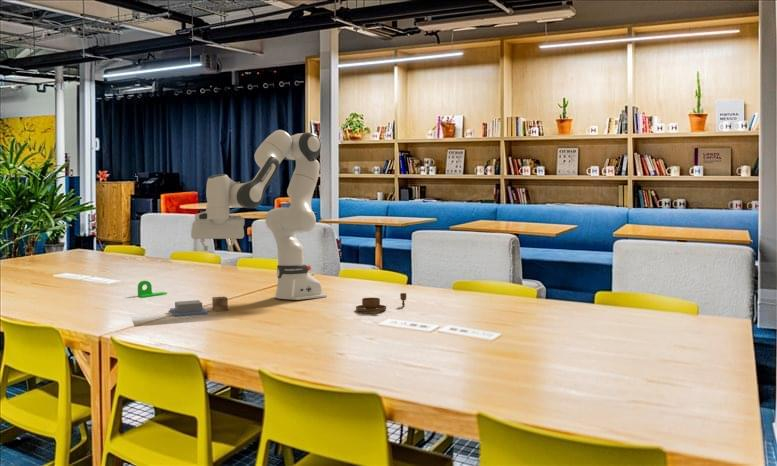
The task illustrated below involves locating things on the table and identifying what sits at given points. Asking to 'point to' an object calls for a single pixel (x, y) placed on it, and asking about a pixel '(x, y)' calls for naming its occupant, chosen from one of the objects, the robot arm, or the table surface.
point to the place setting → (375, 305)
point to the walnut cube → (220, 303)
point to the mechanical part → (147, 290)
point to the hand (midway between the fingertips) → (217, 250)
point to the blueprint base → (188, 308)
